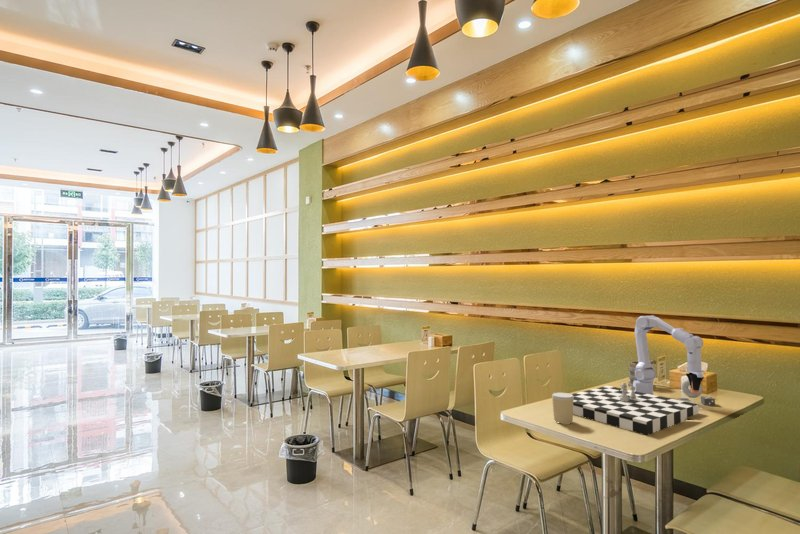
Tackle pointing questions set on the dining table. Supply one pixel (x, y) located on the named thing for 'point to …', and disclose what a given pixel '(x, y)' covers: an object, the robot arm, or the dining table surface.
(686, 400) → the track board
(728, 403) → the dining table surface
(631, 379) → the tankard
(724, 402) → the dining table surface
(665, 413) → the checkerboard
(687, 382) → the donut
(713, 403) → the die
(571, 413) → the coffee cup
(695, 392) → the pawn
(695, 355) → the robot arm
